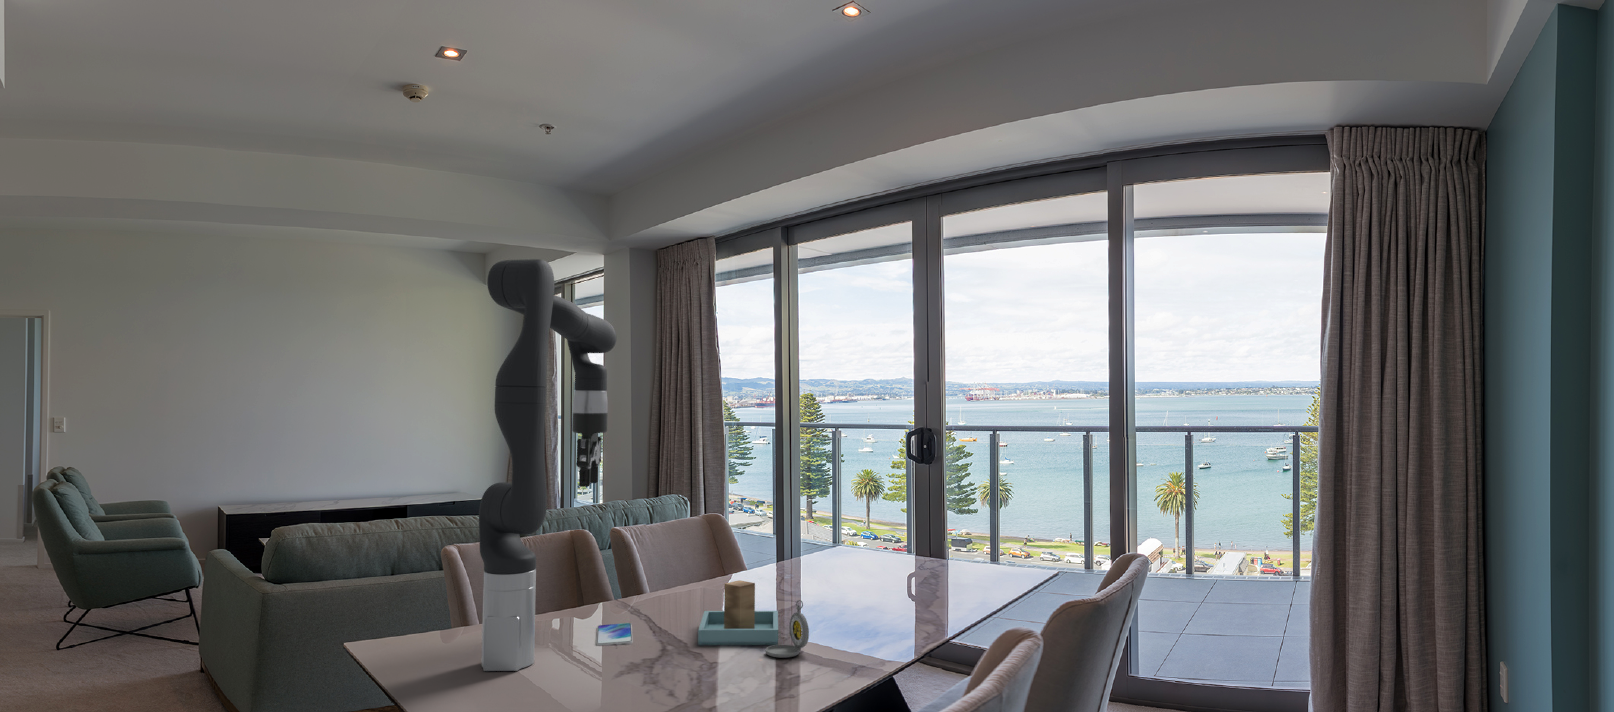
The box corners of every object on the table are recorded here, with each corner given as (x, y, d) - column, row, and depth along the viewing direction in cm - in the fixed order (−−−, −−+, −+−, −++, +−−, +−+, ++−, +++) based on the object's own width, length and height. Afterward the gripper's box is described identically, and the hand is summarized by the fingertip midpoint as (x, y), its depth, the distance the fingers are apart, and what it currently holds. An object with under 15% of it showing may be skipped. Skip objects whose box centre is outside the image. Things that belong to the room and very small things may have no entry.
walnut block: (724, 631, 183) (724, 583, 184) (738, 627, 187) (739, 580, 187) (739, 635, 180) (740, 586, 181) (754, 631, 184) (754, 583, 184)
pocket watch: (759, 656, 168) (759, 603, 169) (780, 645, 176) (781, 595, 176) (796, 662, 164) (797, 608, 165) (817, 651, 172) (817, 599, 172)
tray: (778, 644, 176) (778, 629, 176) (698, 645, 175) (698, 630, 175) (777, 624, 192) (777, 610, 192) (704, 624, 191) (704, 610, 191)
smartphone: (595, 644, 175) (597, 624, 189) (595, 648, 174) (597, 629, 189) (632, 641, 176) (631, 622, 191) (632, 645, 176) (631, 626, 191)
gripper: (600, 411, 188) (599, 488, 187) (613, 411, 202) (611, 481, 201) (565, 411, 187) (563, 488, 187) (580, 410, 202) (578, 481, 201)
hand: (588, 484), depth 194 cm, fingers open, 8 cm apart
